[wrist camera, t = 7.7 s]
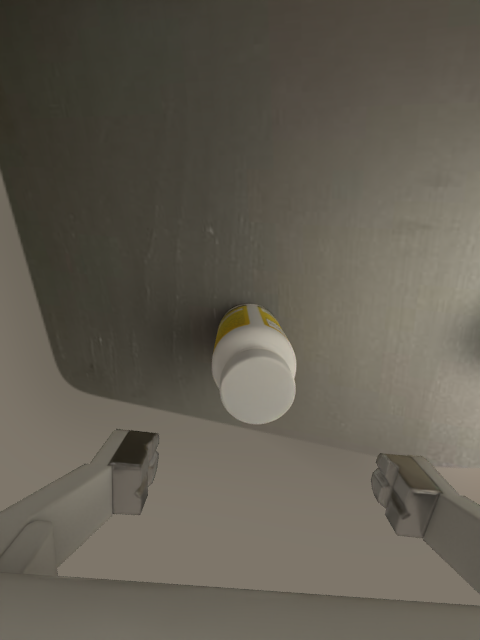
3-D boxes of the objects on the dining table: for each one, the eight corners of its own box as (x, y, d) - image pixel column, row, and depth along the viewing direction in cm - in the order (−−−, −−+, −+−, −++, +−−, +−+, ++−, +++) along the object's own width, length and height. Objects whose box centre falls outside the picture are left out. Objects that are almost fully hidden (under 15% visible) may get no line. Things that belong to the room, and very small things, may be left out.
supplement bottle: (215, 357, 23) (200, 430, 14) (221, 298, 22) (210, 335, 12) (273, 363, 23) (298, 440, 14) (283, 306, 22) (319, 348, 12)
